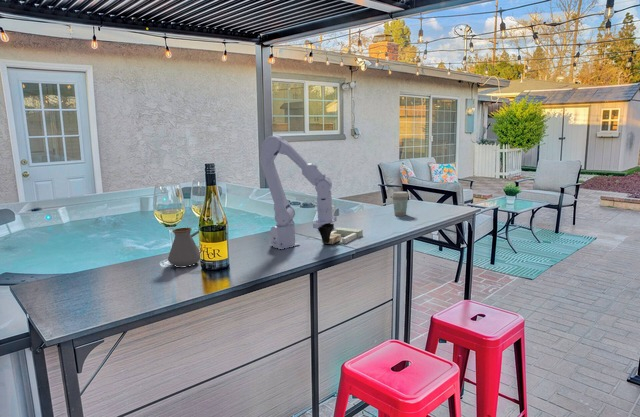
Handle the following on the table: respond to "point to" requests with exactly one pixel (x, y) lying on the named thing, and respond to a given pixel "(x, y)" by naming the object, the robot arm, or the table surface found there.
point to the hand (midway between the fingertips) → (325, 242)
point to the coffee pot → (184, 248)
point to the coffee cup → (400, 202)
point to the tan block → (334, 238)
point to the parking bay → (348, 233)
